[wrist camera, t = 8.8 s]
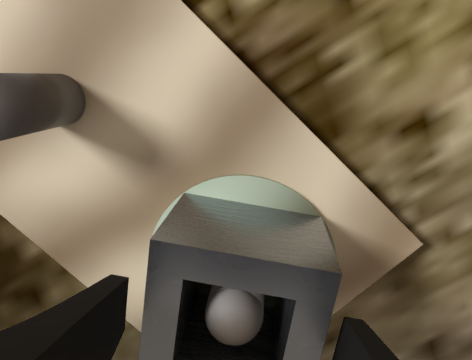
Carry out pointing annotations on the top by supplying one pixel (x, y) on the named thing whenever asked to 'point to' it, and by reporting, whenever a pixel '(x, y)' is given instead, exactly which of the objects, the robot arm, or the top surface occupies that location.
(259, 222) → the steel collar
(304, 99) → the top surface
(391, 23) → the top surface
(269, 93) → the board
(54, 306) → the robot arm
